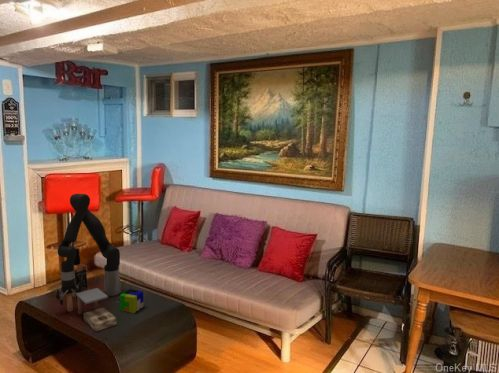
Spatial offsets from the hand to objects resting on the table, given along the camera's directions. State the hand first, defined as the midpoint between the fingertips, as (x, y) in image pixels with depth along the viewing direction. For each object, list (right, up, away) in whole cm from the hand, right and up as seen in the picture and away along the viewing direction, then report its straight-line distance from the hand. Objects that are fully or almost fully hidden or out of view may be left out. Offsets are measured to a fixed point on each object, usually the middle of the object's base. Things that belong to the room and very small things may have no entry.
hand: (69, 302), depth 240 cm
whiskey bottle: (-5, -2, +23) cm, 24 cm away
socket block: (+24, -7, -13) cm, 28 cm away
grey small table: (+16, -6, -5) cm, 18 cm away
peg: (0, -5, +1) cm, 5 cm away
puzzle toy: (+37, -5, +5) cm, 38 cm away
